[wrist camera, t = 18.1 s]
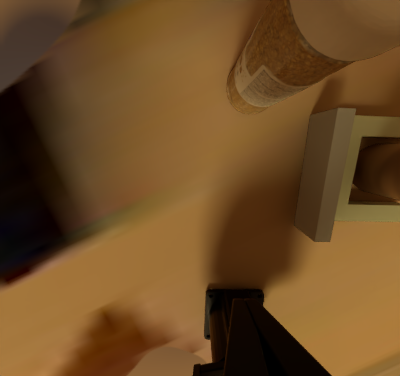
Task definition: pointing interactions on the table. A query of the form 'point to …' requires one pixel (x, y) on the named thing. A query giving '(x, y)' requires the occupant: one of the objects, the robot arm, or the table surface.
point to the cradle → (346, 208)
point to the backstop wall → (323, 172)
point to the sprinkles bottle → (308, 46)
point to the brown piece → (379, 170)
